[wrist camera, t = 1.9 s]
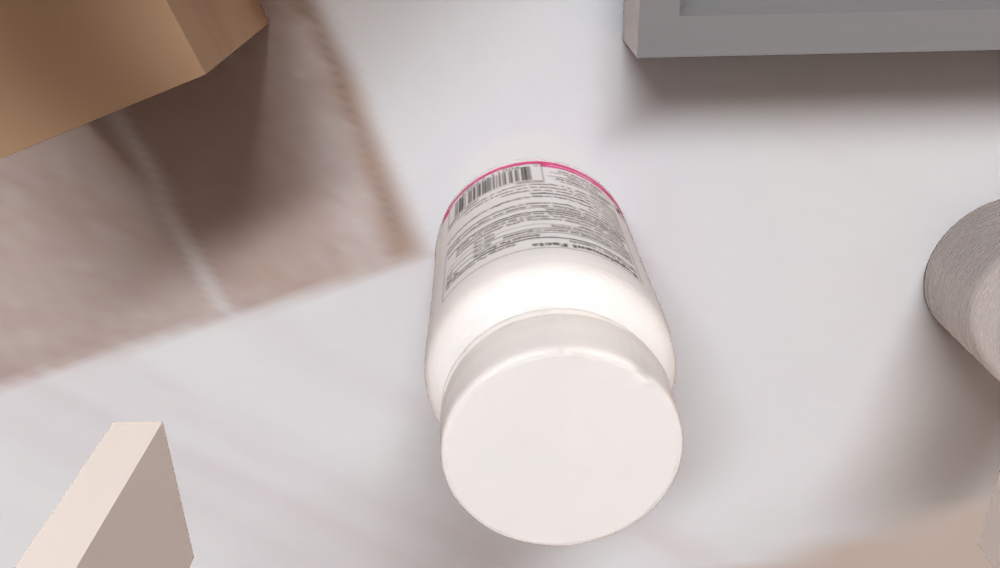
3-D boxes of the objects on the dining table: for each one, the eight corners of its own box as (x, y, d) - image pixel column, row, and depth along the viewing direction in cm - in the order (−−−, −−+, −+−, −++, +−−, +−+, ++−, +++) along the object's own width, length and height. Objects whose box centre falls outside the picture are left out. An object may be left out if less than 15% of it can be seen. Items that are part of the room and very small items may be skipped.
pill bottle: (598, 343, 23) (655, 586, 15) (420, 309, 22) (389, 543, 15) (653, 177, 21) (750, 362, 13) (459, 133, 20) (445, 302, 13)
